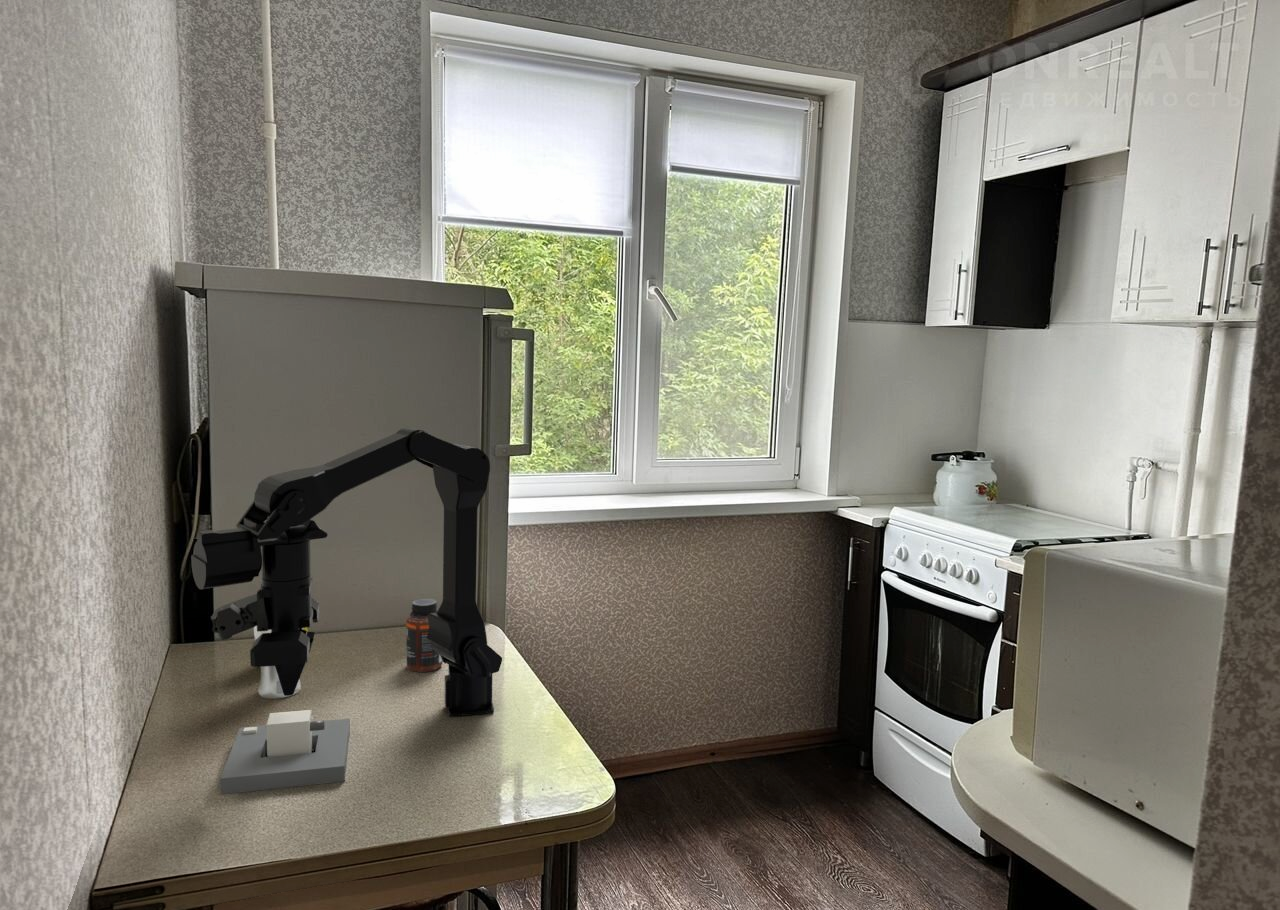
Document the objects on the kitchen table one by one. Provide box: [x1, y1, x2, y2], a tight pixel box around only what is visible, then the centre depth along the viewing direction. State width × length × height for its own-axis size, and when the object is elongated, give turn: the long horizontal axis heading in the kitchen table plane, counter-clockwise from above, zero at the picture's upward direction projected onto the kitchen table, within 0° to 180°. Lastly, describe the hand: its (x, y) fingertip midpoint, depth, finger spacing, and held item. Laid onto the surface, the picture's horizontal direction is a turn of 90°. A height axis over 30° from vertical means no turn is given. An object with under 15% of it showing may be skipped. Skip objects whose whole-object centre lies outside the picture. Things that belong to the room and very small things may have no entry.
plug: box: [266, 709, 325, 757], centre depth 110 cm, size 7×4×6 cm, turn 106°
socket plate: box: [219, 718, 351, 795], centre depth 110 cm, size 14×14×2 cm
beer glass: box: [253, 626, 302, 700], centre depth 131 cm, size 7×7×15 cm
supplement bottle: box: [405, 598, 443, 673], centre depth 143 cm, size 6×6×11 cm
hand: (288, 694), depth 109 cm, fingers closed
